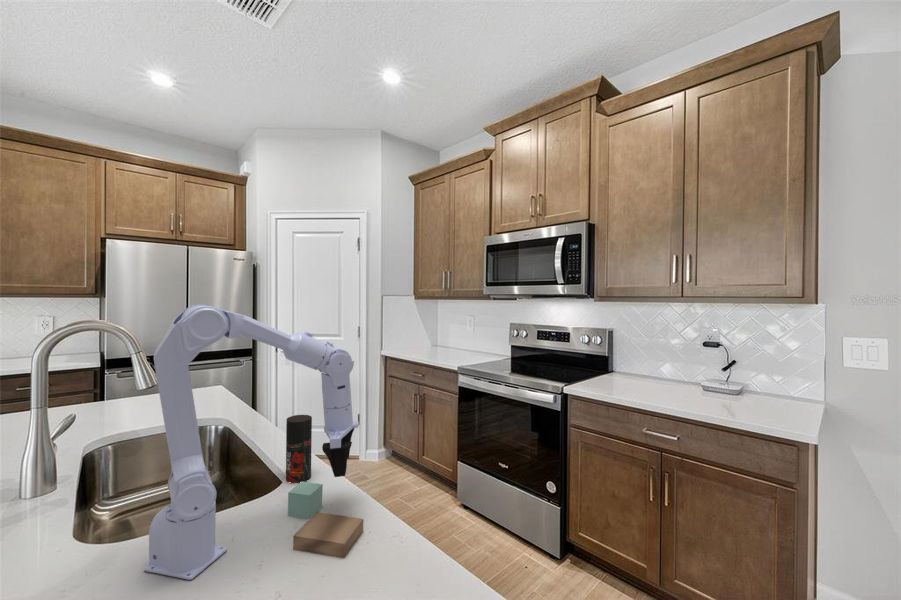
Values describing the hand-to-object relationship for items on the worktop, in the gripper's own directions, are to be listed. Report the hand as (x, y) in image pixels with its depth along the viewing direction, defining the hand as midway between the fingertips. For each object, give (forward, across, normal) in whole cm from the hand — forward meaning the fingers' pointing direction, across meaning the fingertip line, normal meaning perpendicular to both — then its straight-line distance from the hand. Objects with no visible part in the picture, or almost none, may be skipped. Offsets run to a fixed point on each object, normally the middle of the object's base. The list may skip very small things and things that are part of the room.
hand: (342, 466), depth 86 cm
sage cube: (+9, +1, +8) cm, 12 cm away
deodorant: (+10, +16, +13) cm, 23 cm away
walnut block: (+9, -10, +2) cm, 14 cm away
